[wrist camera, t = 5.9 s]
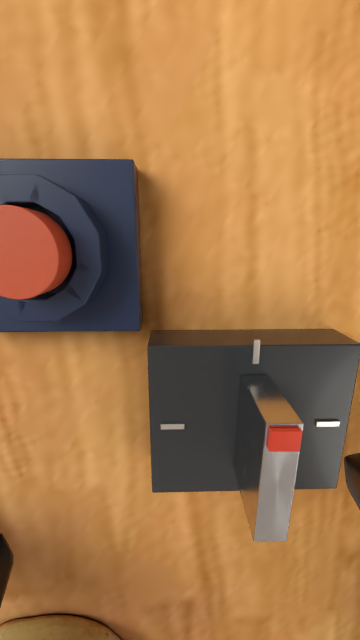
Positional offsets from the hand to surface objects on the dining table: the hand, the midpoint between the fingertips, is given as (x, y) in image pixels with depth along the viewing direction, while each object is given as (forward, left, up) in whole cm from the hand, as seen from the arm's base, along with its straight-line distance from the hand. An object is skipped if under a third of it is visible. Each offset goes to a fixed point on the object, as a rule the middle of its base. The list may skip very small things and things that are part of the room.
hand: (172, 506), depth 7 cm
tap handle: (+5, -4, -9) cm, 11 cm away
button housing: (-7, +6, -12) cm, 15 cm away
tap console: (+5, -4, -12) cm, 13 cm away
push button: (-7, +6, -9) cm, 13 cm away
